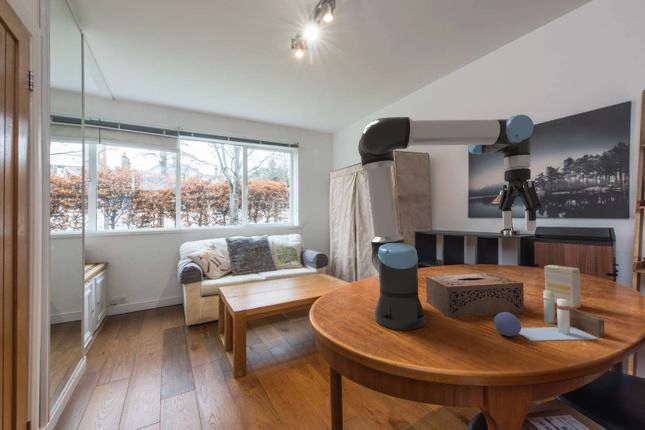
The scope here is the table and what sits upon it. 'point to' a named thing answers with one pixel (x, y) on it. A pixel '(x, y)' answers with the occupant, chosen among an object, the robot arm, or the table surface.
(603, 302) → the table surface
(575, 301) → the supplement box
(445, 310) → the tissue box cover
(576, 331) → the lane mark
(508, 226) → the robot arm
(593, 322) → the rail
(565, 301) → the pin
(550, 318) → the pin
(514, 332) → the ball
